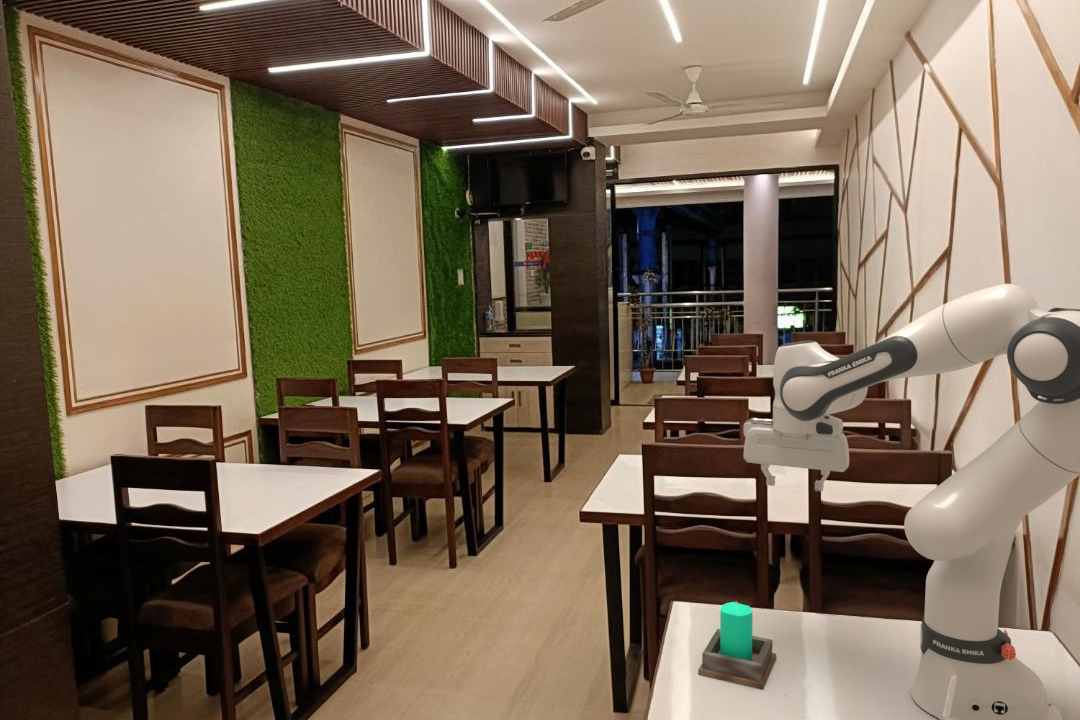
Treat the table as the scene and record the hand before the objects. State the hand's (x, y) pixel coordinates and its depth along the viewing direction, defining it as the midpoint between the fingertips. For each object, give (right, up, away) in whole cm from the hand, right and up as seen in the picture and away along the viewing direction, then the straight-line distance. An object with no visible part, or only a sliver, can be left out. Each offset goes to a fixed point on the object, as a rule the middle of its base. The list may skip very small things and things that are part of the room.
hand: (794, 487), depth 156 cm
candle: (-14, -32, -8) cm, 36 cm away
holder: (-14, -33, -8) cm, 37 cm away
